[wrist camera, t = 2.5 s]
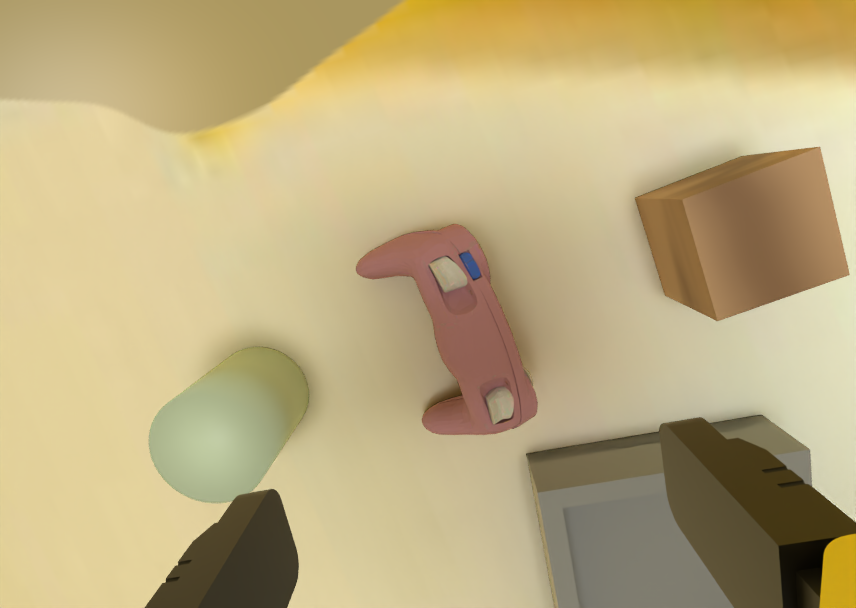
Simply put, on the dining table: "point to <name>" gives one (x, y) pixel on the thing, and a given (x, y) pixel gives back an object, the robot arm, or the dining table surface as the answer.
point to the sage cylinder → (229, 425)
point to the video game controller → (462, 329)
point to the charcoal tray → (631, 521)
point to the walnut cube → (745, 232)
